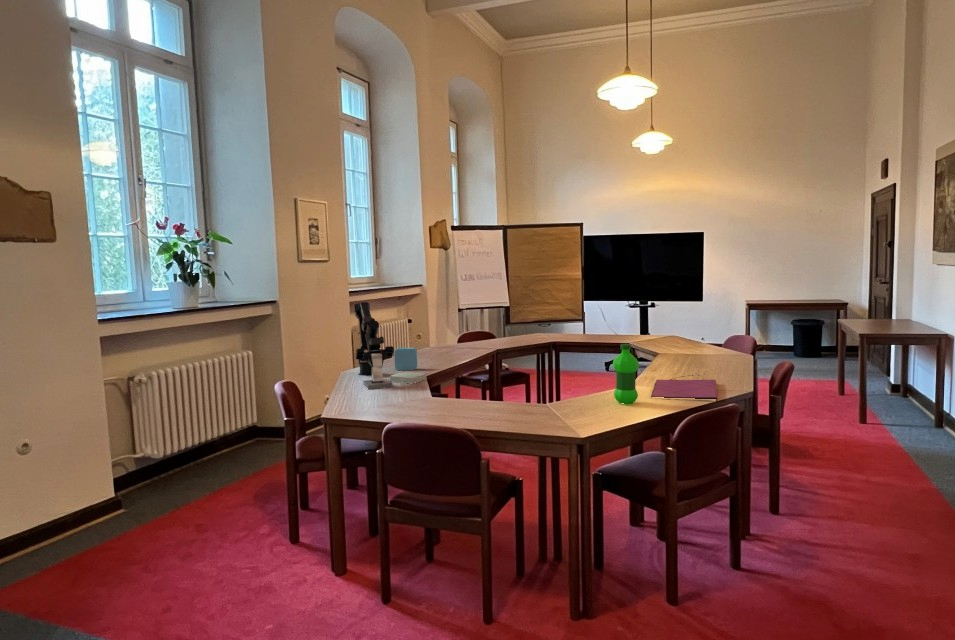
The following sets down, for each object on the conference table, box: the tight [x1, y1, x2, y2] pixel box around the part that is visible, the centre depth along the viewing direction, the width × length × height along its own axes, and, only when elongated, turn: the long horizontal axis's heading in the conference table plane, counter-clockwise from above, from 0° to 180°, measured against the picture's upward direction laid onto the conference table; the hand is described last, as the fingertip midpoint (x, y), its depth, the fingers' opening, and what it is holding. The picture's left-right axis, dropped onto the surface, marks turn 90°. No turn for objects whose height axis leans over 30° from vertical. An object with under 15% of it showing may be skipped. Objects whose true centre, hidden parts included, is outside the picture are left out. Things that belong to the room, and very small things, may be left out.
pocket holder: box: [363, 378, 393, 390], centre depth 328 cm, size 12×12×2 cm
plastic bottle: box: [612, 343, 640, 405], centre depth 277 cm, size 10×10×25 cm
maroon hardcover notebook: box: [650, 374, 718, 400], centre depth 300 cm, size 40×4×27 cm
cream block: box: [371, 353, 384, 381], centre depth 327 cm, size 4×4×13 cm
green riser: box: [389, 371, 427, 384], centre depth 339 cm, size 14×12×3 cm
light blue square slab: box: [393, 347, 418, 371], centre depth 370 cm, size 12×4×12 cm, turn 88°
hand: (377, 366), depth 326 cm, fingers closed on cream block, 4 cm apart
